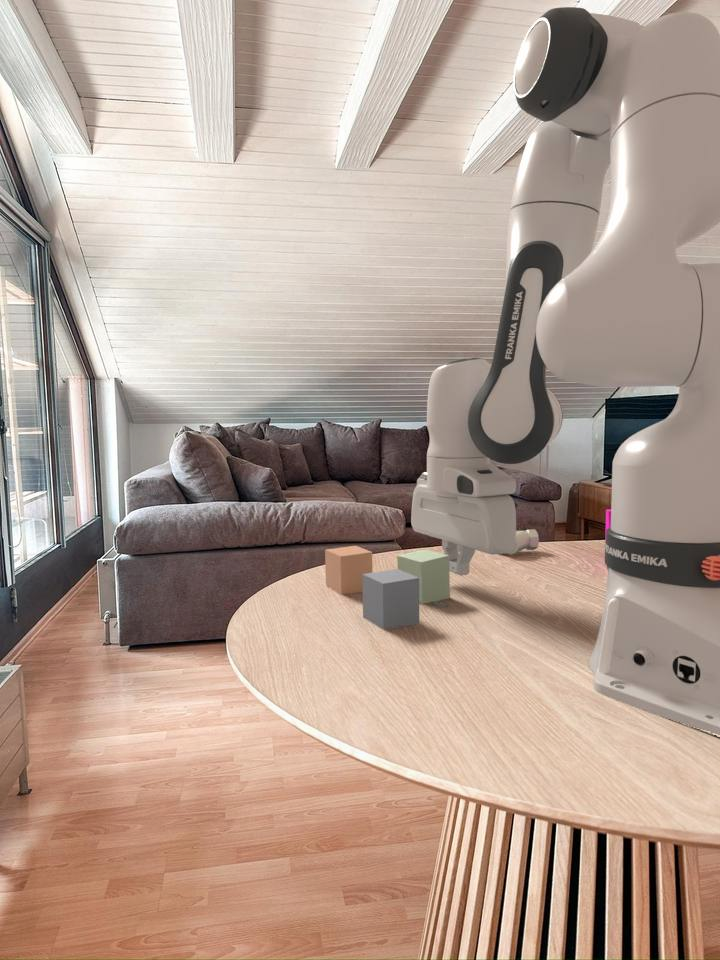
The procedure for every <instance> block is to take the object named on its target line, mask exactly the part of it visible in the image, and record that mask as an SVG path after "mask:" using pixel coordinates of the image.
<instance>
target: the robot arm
mask: <svg viewBox="0 0 720 960" xmlns="http://www.w3.org/2000/svg"><path fill="white" fill-rule="evenodd" d="M512 82H513V92H514V96H515V100H516V102H517V105H518V107H519V108H520V109H521V110H522V111H524V112H525V113H526V114H528V115H530V116H531V117H533V118H535V119H537V120H539V121H541V122H543V123H541V124H539V125H538V126H537V127H536V128H535V129H534V130H533V131H532V132H531V133H530V136H529V137H528V139H527V141H526V144H525V147H524V150H523V153H522V155H521V159H520V162H519V166H518V168H517V169H518V170H517V174H516V177H515V181H514V186H513V191H512V196H511V201H510V208H509V215H508V222H507V232H506V245H505V246H506V249H505V250H506V252H505V253H506V254H505V255H506V257H505V258H506V261H505V263H506V265H505V290H504V296H503V302H502V307H501V312H500V318H499V324H498V329H497V335H496V341H495V346H494V351H493V357H492V362H491V364H490V363H489V362H488V361H487V360H486V359H484V358H481V357H469V358H460V359H456V360H452V361H447V362H445V363H443V364H441V365H439V366H437V367H436V368H435V370H434V371H432V373H431V375H430V378H429V379H430V380H429V383H428V384H429V385H428V391H427V401H426V402H427V403H426V428H427V431H428V435H429V443H428V447H427V452H426V471H424V472H422V473H421V475H420V476H419V477H418V478H417V480H416V486H415V487H414V490H413V494H412V502H411V513H410V514H411V517H410V518H411V519H410V522H411V527H412V529H413V531H414V532H416V533H418V534H421V535H422V534H423V535H426V536H429V537H433V538H436V539H438V540H439V539H440V540H441V547H442V550H443V554H445V555H449V573H454V574H456V575H459V576H468V575H469V574H470V562H472V559H473V557H474V555H475V553H476V551H479V552H482V553H485V554H489V555H500V554H507V553H508V552H510V551H511V550H512V548H513V547H514V545H515V540H516V531H517V511H516V510H517V509H516V504H515V500H514V499H513V497H512V496H511V495H512V494H515V493H516V489H517V482H516V479H515V478H514V477H513V476H512V475H510V474H508V473H506V472H505V471H503V470H501V469H500V468H499V467H497V466H496V465H495V464H493V463H491V460H492V461H494V462H496V463H500V464H506V465H516V464H517V465H518V464H522V463H524V462H528V461H530V460H531V459H533V458H534V457H536V456H538V455H540V453H541V452H542V451H543V450H544V449H545V448H546V447H547V446H549V445H550V444H551V443H552V442H553V441H554V440H555V439H556V437H557V436H558V434H559V432H560V431H561V428H562V425H563V420H564V419H563V418H564V417H563V415H564V413H563V410H562V409H563V407H562V406H561V403H560V400H558V398H557V396H556V395H555V394H554V393H553V392H552V391H551V390H549V389H548V388H547V382H546V381H547V379H546V373H547V370H549V372H551V374H552V375H553V376H554V377H555V378H556V379H558V380H561V381H566V382H571V383H577V384H582V385H588V386H595V387H601V388H637V387H638V388H640V387H641V388H642V387H644V388H646V387H676V388H678V390H679V391H678V395H677V396H678V397H677V401H676V404H675V406H674V408H673V409H672V411H670V413H669V414H668V416H667V417H666V418H664V419H662V420H660V421H658V422H655V423H654V424H652V425H649V426H647V427H646V428H643V429H641V430H639V431H637V432H636V433H634V434H632V435H631V436H629V437H628V438H626V440H624V442H622V443H621V444H620V446H619V447H618V449H617V450H616V452H615V454H614V457H613V460H612V466H611V467H612V468H611V474H612V475H611V505H610V506H611V507H610V508H611V509H610V510H611V527H609V528H608V529H607V530H606V529H605V532H606V543H605V542H604V564H605V565H606V569H607V581H606V582H607V583H606V590H605V596H604V597H605V598H604V605H603V610H602V615H601V619H600V621H601V622H600V625H599V631H598V634H597V638H596V641H595V645H594V648H593V651H592V653H591V656H590V658H589V668H590V670H591V672H592V673H593V675H594V680H593V690H594V691H595V692H597V693H598V694H601V695H603V696H605V697H608V698H610V699H613V700H616V701H618V702H621V703H624V704H627V705H629V706H631V707H634V708H637V709H638V710H642V711H645V712H647V711H648V712H647V713H651V714H653V715H656V716H658V715H659V717H661V716H662V717H661V718H664V717H665V718H664V719H667V718H668V719H667V720H669V719H671V720H670V721H672V720H675V721H678V722H681V723H684V724H686V725H689V726H692V727H695V728H699V729H702V730H706V731H710V732H711V733H715V734H718V735H720V262H713V263H712V262H711V263H710V262H709V263H687V262H686V263H685V262H683V263H682V262H680V261H679V260H678V257H677V252H676V250H677V249H678V248H679V247H680V248H681V246H684V245H685V244H687V243H689V242H692V241H694V240H696V239H698V238H699V237H701V236H703V235H704V234H706V233H708V232H710V230H711V229H713V228H715V227H716V226H718V224H719V223H720V31H719V30H718V28H717V26H716V25H715V24H714V23H713V22H712V21H711V20H710V19H709V18H707V17H706V16H703V15H701V14H700V13H696V12H688V11H680V12H679V11H678V12H672V13H669V14H668V13H667V14H666V15H662V16H660V17H658V18H656V19H653V20H652V21H650V22H649V23H647V24H646V25H641V24H640V23H639V22H637V21H635V20H630V19H626V18H623V17H618V16H614V15H609V14H608V15H607V14H602V13H594V12H590V11H588V10H587V9H586V8H583V7H573V6H568V7H567V6H565V7H564V6H563V7H562V6H561V7H554V8H551V9H549V10H546V12H544V13H543V14H542V15H541V16H540V17H539V18H537V20H536V21H534V23H533V24H532V26H531V27H530V28H529V29H528V31H527V33H526V36H524V39H523V41H522V43H521V46H520V48H519V52H518V55H517V58H516V62H515V65H514V73H513V81H512ZM609 167H610V182H609V183H610V186H609V189H610V190H609V203H608V205H609V206H608V213H607V218H606V222H605V225H604V228H603V230H602V233H601V235H600V237H599V240H598V241H597V243H596V245H595V246H594V248H593V245H594V243H595V239H596V235H597V232H598V227H599V226H598V225H599V218H600V213H601V205H602V199H603V198H602V196H603V190H604V189H603V188H604V182H605V178H606V174H607V171H608V169H609ZM675 721H674V722H675ZM678 722H677V723H678ZM686 725H685V726H686ZM689 726H688V727H689Z"/></svg>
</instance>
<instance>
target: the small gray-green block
mask: <svg viewBox="0 0 720 960" xmlns="http://www.w3.org/2000/svg"><path fill="white" fill-rule="evenodd" d="M430 603H431V605H433V606H436V607H438V608H440V609H442V608H447V607H449V606H448V605H446V604H445V603H442V602H440V601H436V602H430Z"/></svg>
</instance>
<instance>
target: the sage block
mask: <svg viewBox="0 0 720 960" xmlns="http://www.w3.org/2000/svg"><path fill="white" fill-rule="evenodd" d="M396 557H397V558H396V559H397V569H399V570H401V571H403V572H406V573H408V574H411V575H413V576H416V577H418V578H419V604H422V605H424V604H428V603H435V602H440V601H443V600H447V599H451V587H450V586H451V584H450V583H451V581H450V571H449V555H445V553H440V552H437V551H432V550H429V549H420V550H419V549H418V550H416V551H412V552H408V553H401V554H398V555H397V556H396Z"/></svg>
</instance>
